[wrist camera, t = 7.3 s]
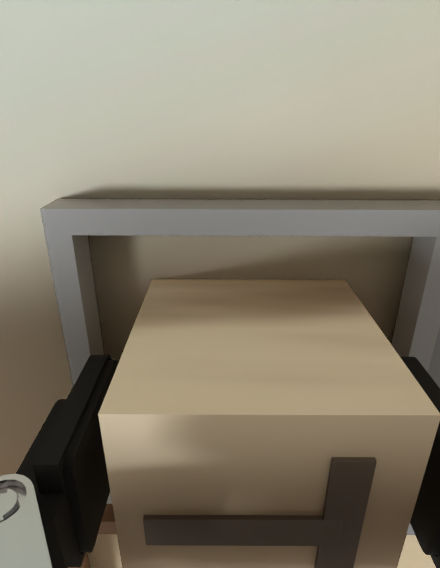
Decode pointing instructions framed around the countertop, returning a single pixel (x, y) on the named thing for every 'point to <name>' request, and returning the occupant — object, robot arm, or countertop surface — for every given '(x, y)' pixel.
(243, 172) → the countertop surface
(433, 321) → the grey square frame
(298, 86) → the countertop surface
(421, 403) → the letter cube
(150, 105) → the countertop surface
